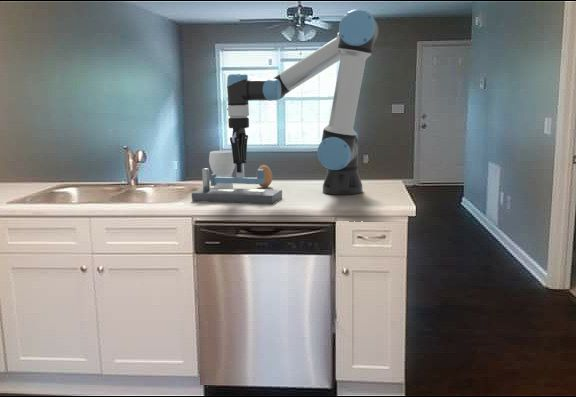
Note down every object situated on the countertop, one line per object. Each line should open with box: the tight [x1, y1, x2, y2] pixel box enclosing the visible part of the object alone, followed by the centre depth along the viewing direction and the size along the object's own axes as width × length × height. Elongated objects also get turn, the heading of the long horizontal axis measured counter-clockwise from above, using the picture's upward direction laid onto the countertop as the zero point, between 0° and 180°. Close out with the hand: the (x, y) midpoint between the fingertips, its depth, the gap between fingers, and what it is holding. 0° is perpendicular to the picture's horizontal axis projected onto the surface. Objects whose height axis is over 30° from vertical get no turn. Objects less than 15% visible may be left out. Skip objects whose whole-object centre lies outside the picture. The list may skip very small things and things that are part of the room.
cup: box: [208, 150, 236, 188], centre depth 225 cm, size 11×11×15 cm
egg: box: [255, 164, 273, 188], centre depth 228 cm, size 7×7×9 cm
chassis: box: [191, 167, 283, 205], centre depth 202 cm, size 30×12×11 cm, turn 74°
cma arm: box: [210, 168, 264, 187], centre depth 201 cm, size 20×3×6 cm, turn 74°
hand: (240, 180), depth 211 cm, fingers closed
